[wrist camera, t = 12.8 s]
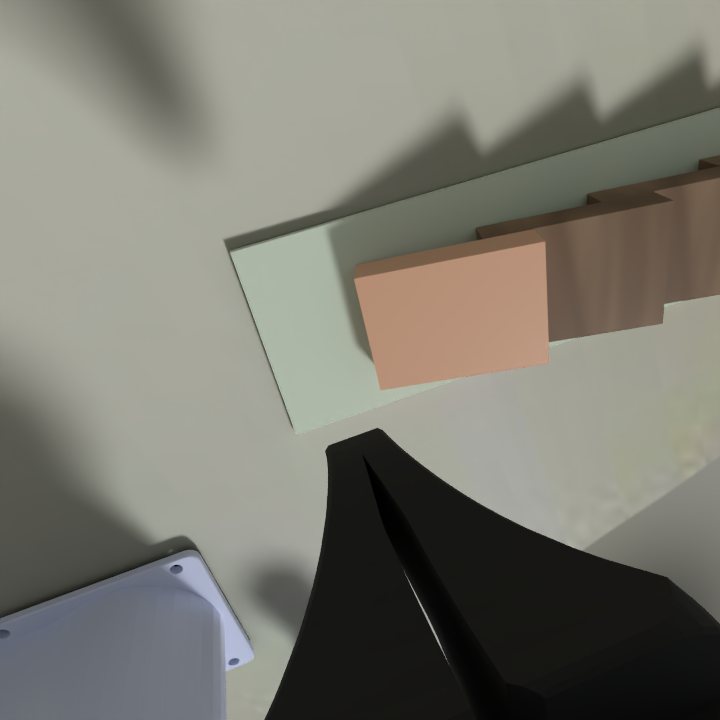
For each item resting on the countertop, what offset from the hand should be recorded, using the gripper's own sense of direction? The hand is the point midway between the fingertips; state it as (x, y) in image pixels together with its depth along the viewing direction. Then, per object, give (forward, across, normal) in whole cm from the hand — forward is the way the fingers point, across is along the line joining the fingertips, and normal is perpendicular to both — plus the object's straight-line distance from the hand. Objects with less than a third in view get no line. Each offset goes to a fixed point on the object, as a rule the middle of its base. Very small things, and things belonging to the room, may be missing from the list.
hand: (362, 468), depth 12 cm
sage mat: (+8, -10, 0) cm, 13 cm away
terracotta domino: (+6, -2, 0) cm, 7 cm away
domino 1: (+6, -7, 0) cm, 9 cm away
